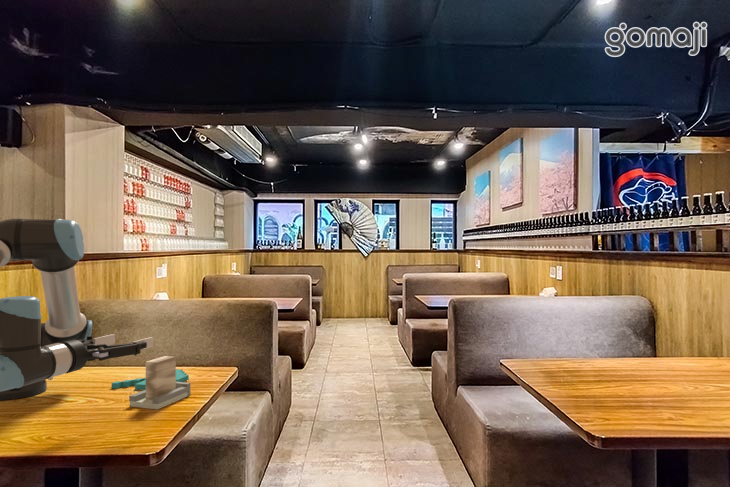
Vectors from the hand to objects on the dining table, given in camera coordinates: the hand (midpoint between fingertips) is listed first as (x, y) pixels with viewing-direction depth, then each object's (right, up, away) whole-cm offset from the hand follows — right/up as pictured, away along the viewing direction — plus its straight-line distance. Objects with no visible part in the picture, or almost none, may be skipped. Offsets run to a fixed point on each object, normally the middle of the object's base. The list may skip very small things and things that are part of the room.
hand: (132, 340), depth 130 cm
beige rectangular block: (+3, -19, +10) cm, 22 cm away
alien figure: (-8, -22, +32) cm, 39 cm away
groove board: (+3, -21, +10) cm, 23 cm away
